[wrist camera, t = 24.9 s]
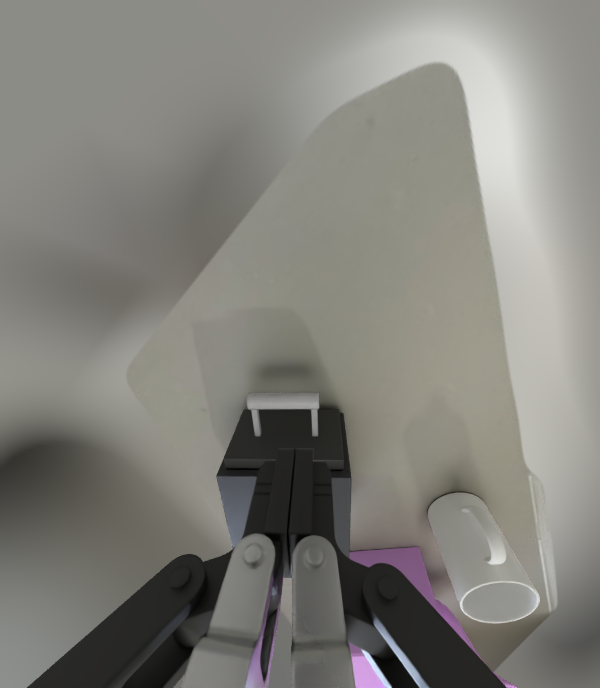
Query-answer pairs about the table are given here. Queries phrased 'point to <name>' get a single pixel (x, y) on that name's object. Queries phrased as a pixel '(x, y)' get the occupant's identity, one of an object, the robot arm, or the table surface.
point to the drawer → (285, 431)
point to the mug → (480, 561)
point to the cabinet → (241, 486)
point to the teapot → (416, 573)
